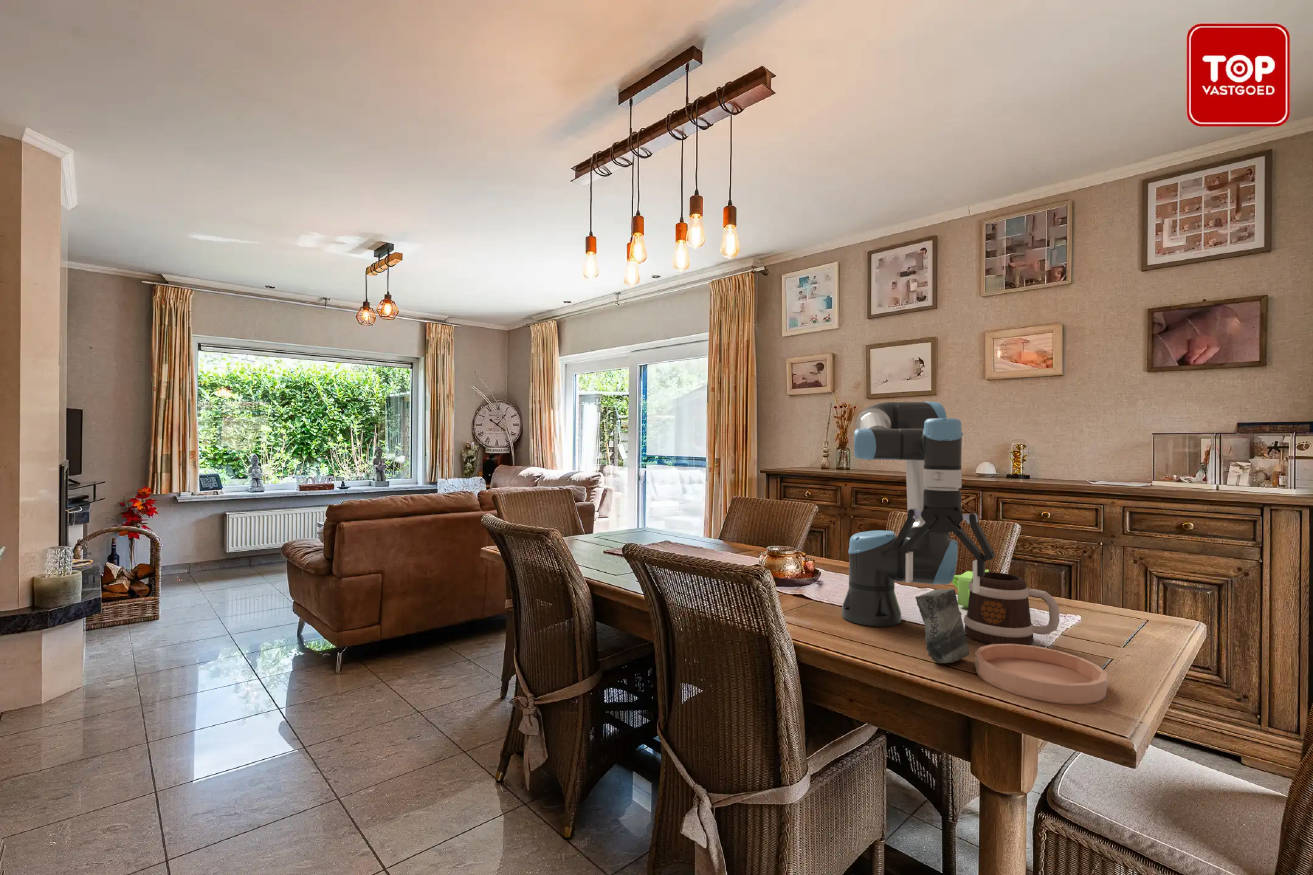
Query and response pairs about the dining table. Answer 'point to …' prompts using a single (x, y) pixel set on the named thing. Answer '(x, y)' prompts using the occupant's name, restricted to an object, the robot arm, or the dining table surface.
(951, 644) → the stone block
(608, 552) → the dining table surface
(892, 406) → the robot arm
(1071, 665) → the dish
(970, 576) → the teapot
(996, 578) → the mug
